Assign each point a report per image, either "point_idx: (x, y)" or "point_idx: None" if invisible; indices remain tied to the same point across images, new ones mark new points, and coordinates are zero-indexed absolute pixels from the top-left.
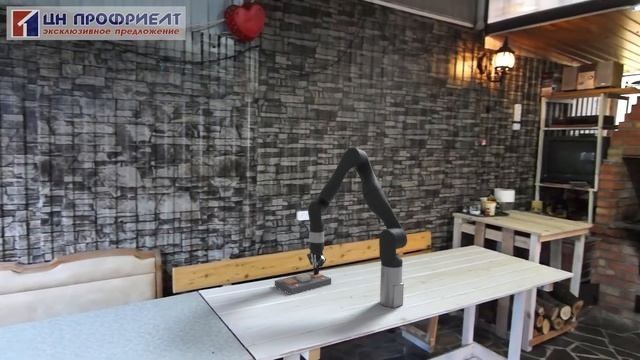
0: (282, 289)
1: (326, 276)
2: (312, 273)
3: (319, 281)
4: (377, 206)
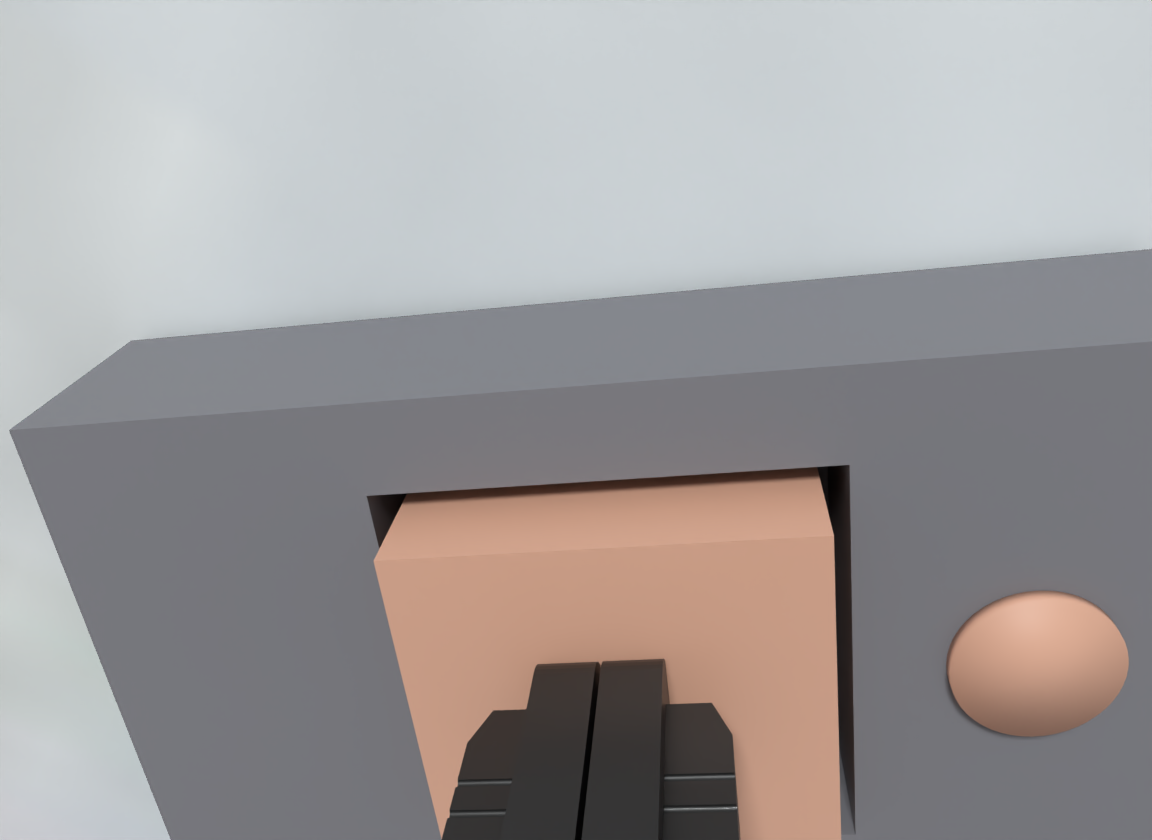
0: None
1: (903, 363)
2: (450, 773)
3: None
4: None
